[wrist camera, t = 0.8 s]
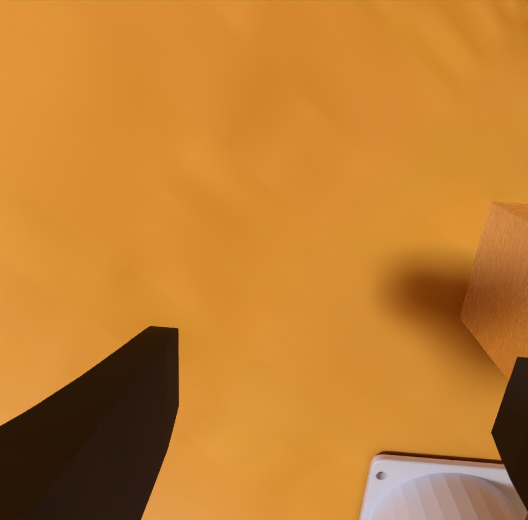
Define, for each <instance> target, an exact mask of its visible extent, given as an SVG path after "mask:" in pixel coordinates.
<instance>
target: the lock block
mask: <svg viewBox="0 0 528 520" xmlns="http://www.w3.org/2000/svg"><path fill="white" fill-rule="evenodd" d="M459 318H460V319H461V321H462V322H463V323H464V324H465V326H466V327H467V328H468V330H469V331H470V332H471V334H472V335H473V336H474V337H475V339H476V340H477V341H478V343H479V344H480V345H481V346H482V348H483V349H484V350H485V352H486V353H487V354H488V355H489V357H490V358H491V359H492V361H493V362H494V363H495V364H496V366H497V367H498V368H499V370H500V371H501V372H502V373H503V375H504V376H505V377H506V379H507V380H508V381H509V379H510V376H511V373H512V370H513V368H514V365H515V362H516V359H517V357H528V204H517V203H503V202H490V203H489V207H488V211H487V214H486V218H485V222H484V226H483V230H482V233H481V237H480V241H479V245H478V249H477V253H476V256H475V260H474V264H473V268H472V272H471V275H470V279H469V283H468V287H467V291H466V295H465V298H464V302H463V306H462V310H461V314H460V317H459Z"/></svg>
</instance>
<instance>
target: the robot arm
mask: <svg viewBox="0 0 528 520" xmlns="http://www.w3.org/2000/svg"><path fill="white" fill-rule="evenodd" d="M178 407H179V356H178V328H168V327H156V326H149V327H148V328H147V329H145V330H144V331H142V332H141V333H139V334H138V335H137V336H135V337H134V338H133V339H131V340H130V341H129V342H127V343H126V344H125V345H123V346H122V347H121V348H119V349H118V350H117V351H115V352H114V353H113V354H111V355H110V356H108V357H107V358H106V359H104V360H103V361H101V362H100V363H99V364H97V365H96V366H94V367H93V368H92V369H90V370H89V371H87V372H86V373H85V374H83V375H82V376H80V377H79V378H77V379H76V380H74V381H73V382H71V383H69V384H68V385H66V386H65V387H63V388H62V389H60V390H59V391H57V392H56V393H54V394H53V395H51V396H49V397H48V398H46V399H45V400H43V401H42V402H40V403H39V404H37V405H36V406H34V407H32V408H31V409H29V410H27V411H26V412H24V413H22V414H21V415H19V416H17V417H15V418H14V419H12V420H10V421H8V422H7V423H5V424H3V425H1V426H0V520H141V518H142V515H143V513H144V510H145V508H146V505H147V502H148V500H149V497H150V495H151V492H152V490H153V487H154V484H155V482H156V479H157V476H158V474H159V471H160V468H161V466H162V463H163V461H164V458H165V455H166V452H167V450H168V446H169V442H170V439H171V435H172V431H173V427H174V423H175V419H176V415H177V411H178ZM491 433H492V436H493V438H494V441H495V444H496V446H497V449H498V451H499V454H500V457H501V459H502V462H503V464H494V463H482V462H470V461H458V460H446V459H433V458H421V457H409V456H397V455H385V454H380V455H377V456H375V457H374V458H373V459H372V461H371V465H370V470H369V474H368V479H367V484H366V489H365V493H364V498H363V503H362V508H361V512H360V517H359V520H525V518H526V516H527V513H528V357H517V359H516V362H515V365H514V368H513V370H512V373H511V376H510V379H509V382H508V385H507V388H506V391H505V394H504V397H503V400H502V403H501V405H500V408H499V411H498V414H497V417H496V420H495V423H494V426H493V429H492V432H491ZM379 472H382V473H379Z"/></svg>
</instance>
